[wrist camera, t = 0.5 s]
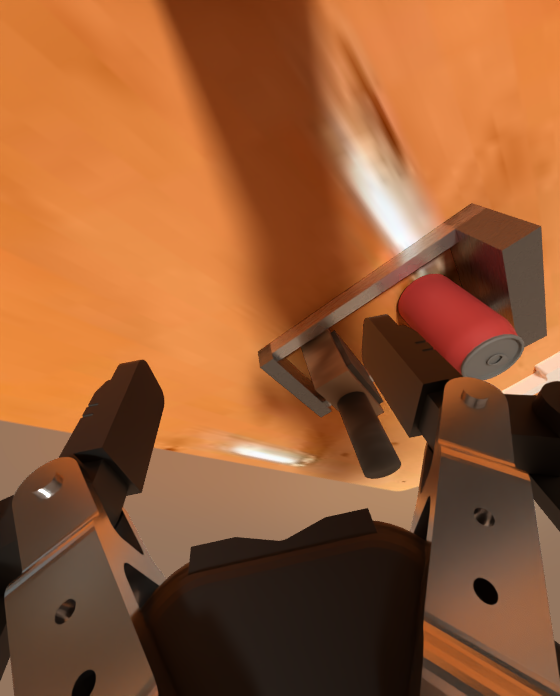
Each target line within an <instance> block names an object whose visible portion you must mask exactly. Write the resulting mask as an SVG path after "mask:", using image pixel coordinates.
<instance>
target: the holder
mask: <svg viewBox="0 0 560 696" xmlns="http://www.w3.org/2000/svg"><path fill="white" fill-rule="evenodd" d="M535 368H536V372H535V373H533V374H532V375H530V376H528V377H526V378H524V379H523V380H521V381H519V382H517V383H515V384H514V385H512V386H510V387H508V388H506V389H505V390H503V391H501V392H502V393H503V394H517V395H534V394H536V393H538V392H540V390H541V388H542V387H543V386H544V385H545V384H546V383H549V382H553V381H560V352H558V353H556V354H554V355H553V356H551V357H549V358H547V359H545V360H544V361H542V362H540V363H538V364H537V365H535Z"/></svg>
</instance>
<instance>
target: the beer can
mask: <svg viewBox="0 0 560 696" xmlns="http://www.w3.org/2000/svg"><path fill="white" fill-rule="evenodd" d="M398 310H399V313H400V316H401V317H402V318H403V319H404V320H405V321H406V322H407V323H408V325H409V326H410V327H411V328H412V329H413V330H415V331H417V332H418V333H419V334H420V335H421V336H422V337H423V338H424V339H425V340H426V342H428V343H429V344H430V345H431V346H432V347H433V349H434V350H436V351H437V352H438V353H439V354H440V355H441V356H443V357H444V358H445V359H446V360H447V361H448V362H449V363H450V364H451V365H452V366H453V367H454V368H455V369H456V370H457V371H458V372H459V373H460V374H461V375H462V376H463V377H471V378H476V379H480V380H487V379H490V378H492V377H495V376H497V375H499V374H501V373H502V372H504V371H506V370H507V369H508V368H510V367H511V366H512V365H513V364H514V363H515V362H516V361H517V360H518V359H519V357H520V356H521V354H522V352H523V350H524V341H523V340H522V338H521V337H519V336H518V335H517V333H516V331H515V329H514V328H513V326H512V325H511V324H510V322H509V321H508V320H507V319H506V318H504V317H503V316H501V315H500V314H498V313H497V312H496V311H494V310H493V309H491V308H490V307H489V306H487V305H486V304H484V303H483V302H481V301H480V300H479V299H477V298H476V297H474V296H473V295H471V294H470V293H469V292H467V291H466V290H464V289H463V288H461V287H460V286H459V285H457V284H456V283H454V282H453V281H452V280H450V279H449V278H447V277H446V276H443V275H441V274H429V275H425V276H422V277H420V278H418V279H416V280H415V281H413V282H412V283H411V284H410V285H409V286H408V287H407V288H406V289H405V290H404V292H403V293H402V295H401V297H400V300H399V304H398Z"/></svg>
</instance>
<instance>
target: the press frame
mask: <svg viewBox="0 0 560 696" xmlns="http://www.w3.org/2000/svg"><path fill="white" fill-rule="evenodd" d="M448 248H451V251H452V255H453V258H454V261H455V265H456V268H457V271H458V274H459V278H460V281H461V284H462V288H463V289H464V290H466V291H467V292H469V293H470V294H471V295H473V296H474V297H476V298H477V299H479V300H480V301H481V302H483V303H484V304H486V305H487V306H489V307H490V308H491V309H493V310H494V311H496V312H497V313H498V314H500V315H501V316H503V317H504V318H506V319H507V320H508V321H509V322H510V324H511V325H512V326H513V328H514V329H515V331H516V333H517V335H518V336H519V337H521V338H522V340H523V341H524V347H526V346H528V345H530V344H532V343H533V342H535V341H537V340H539V339H541V338H543V337H545V336H547V329H546V309H545V290H544V271H543V252H542V233H541V226H539V225H536V224H533V223H530V222H527V221H524V220H521V219H518V218H515V217H512V216H509V215H506V214H503V213H500V212H497V211H494V210H490V209H487V208H484V207H481V206H478V205H475V204H472V203H471V204H470V205H468V206H467V207H466V208H464V209H463V210H461V211H460V212H458V213H457V214H456V215H454V216H453V217H451V218H450V219H448V220H447V221H445V222H444V223H443V224H441V225H440V226H438V227H437V228H435V229H434V230H432V231H431V232H430V233H428V234H427V235H425V236H424V237H422V238H421V239H420V240H418V241H417V242H415V243H414V244H412V245H411V246H409V247H408V248H407V249H405V250H404V251H402V252H401V253H399V254H398V255H397V256H395V257H394V258H392V259H391V260H389V261H388V262H386V263H385V264H384V265H382V266H381V267H379V268H378V269H376V270H375V271H373V272H372V273H371V274H369V275H368V276H366V277H365V278H363V279H362V280H361V281H359V282H358V283H356V284H355V285H353V286H352V287H350V288H349V289H348V290H346V291H345V292H343V293H342V294H340V295H339V296H337V297H336V298H335V299H333V300H332V301H330V302H329V303H327V304H326V305H325V306H323V307H322V308H320V309H319V310H317V311H316V312H314V313H313V314H312V315H310V316H309V317H307V318H306V319H304V320H303V321H302V322H300V323H299V324H297V325H296V326H294V327H293V328H291V329H290V330H289V331H287V332H286V333H284V334H283V335H281V336H280V337H278V338H277V339H276V340H274V341H273V342H271V343H270V344H268V345H267V346H266V347H264V348H263V349H261V350H260V351H258V356H259V363H260V368H261V369H263V370H264V371H265V372H266V373H267V374H269V375H270V376H271V377H272V378H274V379H275V380H276V381H277V382H278V383H280V384H281V385H282V386H283V387H284V388H286V389H287V390H288V391H289V392H291V393H292V394H293V395H294V396H295V397H297V398H298V399H299V400H300V401H302V402H303V403H304V404H305V405H306V406H308V407H309V408H310V409H311V410H312V411H314V412H315V413H316V414H317V415H319V416H320V417H322V416H324V415H326V414H328V413H330V412H331V411H332V410H331V407H330V406H331V404H330V403H329V402H328V401H327V400H326V399H325V398H324V397H322V396H321V395H320V394H319V393H318V392H317V391H316V390H315V388H314V385H313V383H312V382H311V381H310V380H309V379H308V378H307V377H305V376H304V375H303V374H302V373H301V372H300V371H299V370H298V369H297V368H296V367H295V366H294V365H293V364H292V363H290V362H289V361H288V360H287V359H286V358H285V357H286V356H287V355H289V354H290V353H292V352H293V351H295V350H296V349H298V348H299V347H301V346H302V345H304V344H305V343H307V342H308V341H310V340H311V339H313V338H314V337H316V336H317V335H319V334H320V333H322V332H323V331H325V330H326V329H328V328H329V327H331V326H332V325H334V324H335V323H337V322H338V321H340V320H341V319H343V318H344V317H346V316H347V315H349V314H351V313H352V312H354V311H355V310H357V309H358V308H360V307H361V306H363V305H364V304H366V303H367V302H369V301H370V300H372V299H373V298H375V297H376V296H378V295H379V294H381V293H382V292H384V291H385V290H387V289H388V288H390V287H391V286H393V285H394V284H396V283H397V282H399V281H400V280H402V279H403V278H405V277H406V276H408V275H409V274H411V273H412V272H414V271H415V270H417V269H418V268H420V267H421V266H423V265H424V264H426V263H427V262H429V261H430V260H432V259H433V258H435V257H436V256H438V255H439V254H441V253H442V252H444V251H445V250H447V249H448ZM363 367H364V368H365V370H366V371H367V369H366V367H365V366H363ZM367 373H368V375H369V377H370V379H371V380H372V382H373V381H374V380H373V379H372V377H371V375H370V374H369V372H368V371H367Z"/></svg>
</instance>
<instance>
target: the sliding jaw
mask: <svg viewBox="0 0 560 696" xmlns="http://www.w3.org/2000/svg"><path fill="white" fill-rule="evenodd" d="M301 349H302V352H303V355H304V358H305V361H306V364H307V367H308V370H309V373H310V376H311V379H312V382H313V385H314V388H315V390H316V391H317V392H318V393H319V394H320V395H321V396H322V397H324V398H325V399H326V400H327V401H328V402H329V403H330V404H331V405H332V406H333V407H335V408H336V409H337V410H338V411H339V412H340V414H341V417H342V419H343V422H344V424H345V427H346V429H347V432H348V435H349V437H350V440H351V442H352V445H353V447H354V450H355V453H356V455H357V458H358V460H359V463H360V465H361V468H362V470H363V473H364V475H365V477H367V478H371V479H376V478H382V477H385V476H388V475H390V474H392V473H394V472H395V471H397V470H398V469H399V468H400V466H401V462H400V460H399V458H398V456H397V454H396V452H395V450H394V448H393V446H392V444H391V442H390V440H389V438H388V437H387V435H386V433H385V431H384V429H383V427H382V425H381V423H380V421H379V419H378V417H377V416H378V415H380V414H382V413H384V411H383V409H382V407H381V405H380V403H382V402H383V400H382V398H381V396H380V395H379V393H378V391H377V389H376V387H375V386H374V384H373V382H372V380H371V379H370V377H369V375H368V373H367V371H366V370H365V368H364V367H363V366H362V364H361V363H360V362H359V361H358V359H357V358H356V357H355V356H354V354H353V353H352V352H351V350H350V349H349V348H348V347H347V345H346V344H345V343H344V342H343V340H342V339H341V338H340V337H339V335H338V334H337V333H336V332H335V330H334V331H332V332H331V331H330V330H329V329H326V330H325V331H323V332H322V333H320V334H319V335H317V336H316V337H314V338H313V339H311V340H310V341H308V342H307V343H305V344H304V345H302V346H301Z"/></svg>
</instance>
